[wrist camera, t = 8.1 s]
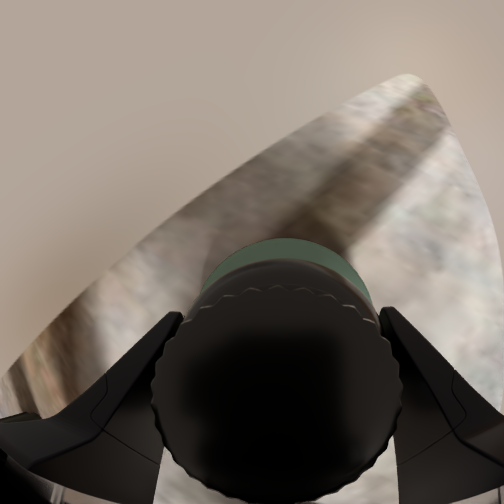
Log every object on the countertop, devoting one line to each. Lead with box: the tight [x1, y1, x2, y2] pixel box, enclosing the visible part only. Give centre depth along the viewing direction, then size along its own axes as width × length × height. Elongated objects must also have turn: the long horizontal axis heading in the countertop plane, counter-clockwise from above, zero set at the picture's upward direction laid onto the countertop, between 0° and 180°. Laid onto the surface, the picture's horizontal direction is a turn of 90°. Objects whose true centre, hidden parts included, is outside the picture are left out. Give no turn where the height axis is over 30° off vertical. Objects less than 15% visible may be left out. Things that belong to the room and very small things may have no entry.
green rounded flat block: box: [200, 238, 373, 305], centre depth 18 cm, size 12×12×3 cm
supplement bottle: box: [150, 258, 403, 504], centre depth 10 cm, size 7×7×12 cm
